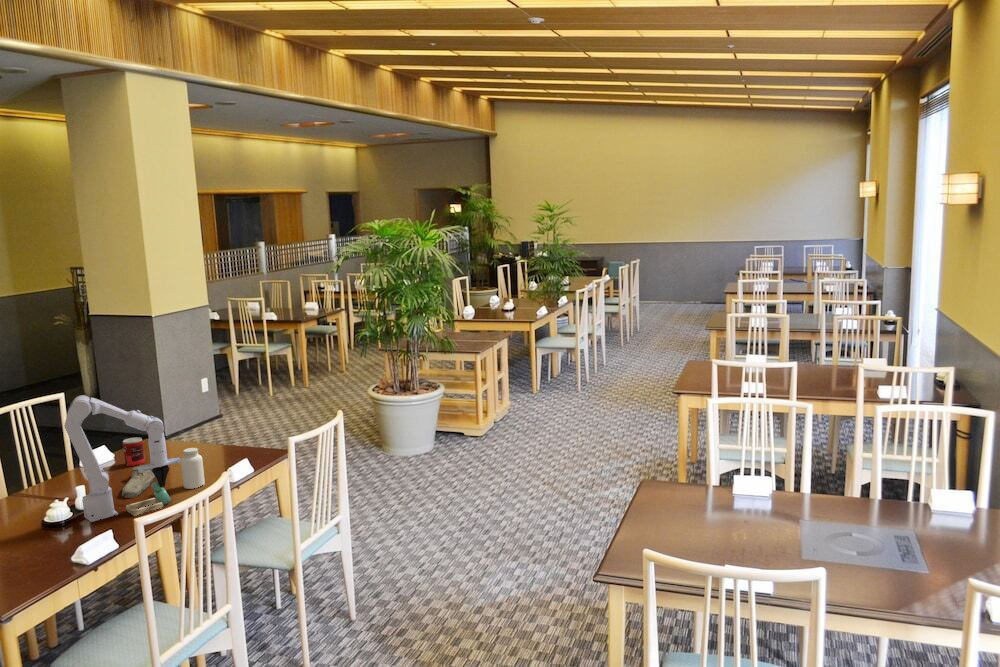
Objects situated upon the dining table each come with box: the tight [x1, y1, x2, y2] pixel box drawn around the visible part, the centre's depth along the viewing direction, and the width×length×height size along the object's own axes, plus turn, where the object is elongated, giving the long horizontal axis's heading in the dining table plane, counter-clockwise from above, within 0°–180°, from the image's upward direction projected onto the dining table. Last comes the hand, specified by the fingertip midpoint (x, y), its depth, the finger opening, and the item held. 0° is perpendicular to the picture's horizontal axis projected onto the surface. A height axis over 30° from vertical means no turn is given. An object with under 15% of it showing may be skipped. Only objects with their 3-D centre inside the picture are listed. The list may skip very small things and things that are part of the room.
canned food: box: [122, 437, 146, 467], centre depth 339 cm, size 8×8×11 cm
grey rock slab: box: [121, 464, 156, 499], centre depth 313 cm, size 35×5×10 cm
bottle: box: [150, 480, 172, 506], centre depth 287 cm, size 4×4×8 cm
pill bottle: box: [180, 447, 206, 490], centre depth 306 cm, size 8×8×15 cm
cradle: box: [125, 497, 164, 517], centre depth 284 cm, size 10×8×2 cm
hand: (162, 486), depth 288 cm, fingers closed
